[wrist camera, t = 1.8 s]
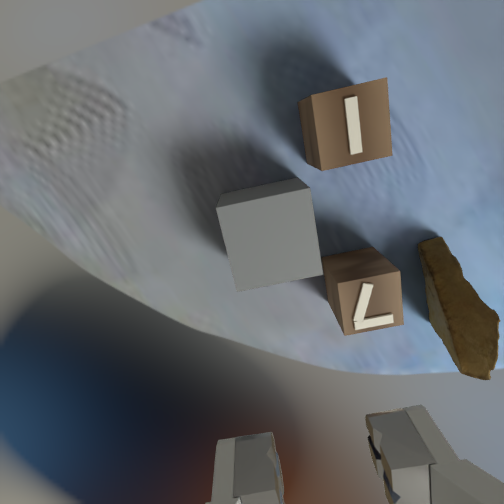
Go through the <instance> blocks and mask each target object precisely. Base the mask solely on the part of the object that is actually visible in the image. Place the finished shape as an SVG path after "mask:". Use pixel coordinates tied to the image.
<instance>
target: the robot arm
mask: <svg viewBox="0 0 504 504" xmlns="http://www.w3.org/2000/svg"><path fill="white" fill-rule="evenodd" d="M365 421H366V427H367V429H368V432H369V434H370V435H369V436H368V444H369V449H370V453H371V457H372V461H373V464H374V466H375V469H376V472H377V475H378V477H379V478H380V479H382V480H383V481H384V489H385V495H386V498H387V500H388V503H389V504H504V483H503V482H501V481H500V480H498V479H496V478H495V477H493V476H492V475H490V474H488V473H487V472H485V471H484V470H482V469H480V468H479V467H478V466H476V465H474V464H473V463H471V462H470V461H468V460H467V459H464V460H460V459H459V458H458V457H457V455H456V453H455V452H454V450H453V449H452V447H451V446H450V444H449V443H448V441H447V440H446V438H445V437H444V435H443V434H442V432H441V431H440V429H439V428H438V426H437V425H436V423H435V422H434V420H433V419H432V417H431V416H430V414H429V413H428V411H427V410H426V408H425V407H424V406H422V405H416V406H411V407H405V408H399V409H393V410H388V411H383V412H378V413H372V414H367V415H366V416H365ZM215 457H216V458H215V467H214V479H213V489H212V500H211V502H208V503H205V504H284V500H283V497H282V496H283V494H284V487H283V479H282V473H281V467H280V462H279V457H278V454H277V453H276V451H275V441H274V438H273V434H272V432H269V433H262V434H256V435H248V436H242V437H236V438H231V439H224V440H219V441H218V443H217V446H216V456H215Z"/></svg>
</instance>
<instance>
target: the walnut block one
mask: <svg viewBox="0 0 504 504" xmlns="http://www.w3.org/2000/svg"><path fill="white" fill-rule="evenodd" d="M298 108H299V114H300V121H301V127H302V134H303V140H304V147H305V153H306V160H307V164H309V165H311V166H313V167H315V168H317V169H319V170H321V171H324V170H329V169H333V168H338V167H342V166H347V165H351V164H356V163H361V162H365V161H370V160H374V159H379V158H383V157H388V156H392V143H391V128H390V113H389V98H388V83H387V78H382V79H378V80H374V81H369V82H365V83H361V84H357V85H352V86H348V87H344V88H339V89H335V90H331V91H326V92H322V93H318V94H313V95H310V96H309V97H307V98H305V99H303V100H301V101H299V102H298Z"/></svg>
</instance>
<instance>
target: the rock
mask: <svg viewBox="0 0 504 504" xmlns="http://www.w3.org/2000/svg"><path fill="white" fill-rule="evenodd" d="M418 252H419V257H420V260H421V263H422V269H423V275H424V278H425V285H426V288H425V292H426V296H427V304H428V309H429V320H430V323H431V325H432V327H433V328H434V330H435V332H436V333H437V334H438V336H439V337H440V338H441V339H442V341H443V344H444V345H445V346H446V348H447V350H448V352H449V354H450V356H451V357H452V360H453V361H454V363H455V365H456V366H457V368H458V370H459V371H460V372H461V373H462V374H465V375H467V376H470V377H474V378H478V379H482V380H490V378H491V376H490V371H491V370H494V368H495V364H496V362H497V359H498V340H499V332H498V327H499V322H500V319H499V316H498V314H497V313H496V312H495V310H492V309H491V308H489V307H488V306H487V305H486V304H485V303H484V302H483V301H482V300H481V299H480V298H479V296H478V294H477V292H476V291H475V290H474V289H473V287H472V286H471V284H470V283H469V282H468V281H467V280H466V279H465V278H464V277H463V273H462V268H461V266H460V263H459V262H458V260H457V259H456V257H455V256H453V255H452V253H451V251H450V250H449V247H448V246H447V244H446V243H445V241H444V239H443V238H442V237H437V238H434V239H430V240H426V241H423V242H420V243H419V244H418Z"/></svg>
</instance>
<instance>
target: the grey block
mask: <svg viewBox="0 0 504 504" xmlns="http://www.w3.org/2000/svg"><path fill="white" fill-rule="evenodd" d="M216 211H217V215H218V219H219V223H220V227H221V231H222V235H223V239H224V243H225V246H226V250H227V254H228V258H229V262H230V266H231V270H232V274H233V278H234V282H235V286H236V290H237V292H240V291H245V290H250V289H255V288H259V287H264V286H269V285H274V284H279V283H284V282H289V281H294V280H299V279H304V278H309V277H314V276H319V275H323V270H322V263H321V257H320V250H319V243H318V237H317V230H316V224H315V217H314V210H313V204H312V197H311V190H310V187H309V186H307V185H306V184H305V183H304V182H303V181H302V180H300V179H299V178H298V177H297V178H292V179H288V180H283V181H279V182H274V183H269V184H265V185H260V186H255V187H251V188H246V189H242V190H237V191H232V192H228V193H223V194H221V195H220V198H219V201H218V203H217V206H216Z"/></svg>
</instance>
